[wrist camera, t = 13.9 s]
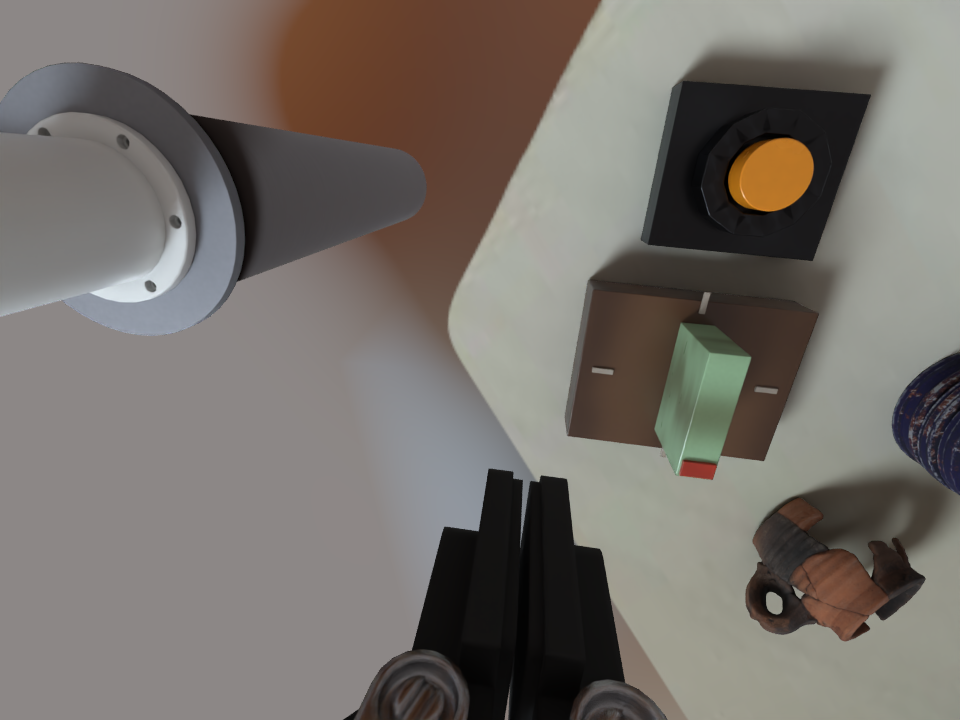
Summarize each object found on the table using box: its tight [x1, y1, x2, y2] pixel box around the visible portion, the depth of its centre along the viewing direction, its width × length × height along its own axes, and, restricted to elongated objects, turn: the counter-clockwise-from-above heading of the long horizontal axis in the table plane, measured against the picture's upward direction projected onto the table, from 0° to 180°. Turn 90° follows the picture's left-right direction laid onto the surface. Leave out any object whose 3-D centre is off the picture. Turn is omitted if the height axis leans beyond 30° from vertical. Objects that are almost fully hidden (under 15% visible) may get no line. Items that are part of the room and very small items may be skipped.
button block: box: [641, 81, 871, 261], centre depth 28 cm, size 10×9×4 cm
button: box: [728, 138, 814, 211], centre depth 25 cm, size 4×4×2 cm
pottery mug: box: [746, 498, 926, 641], centre depth 37 cm, size 12×10×8 cm
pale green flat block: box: [655, 323, 751, 480], centre depth 29 cm, size 8×2×6 cm, turn 176°
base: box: [565, 280, 819, 461], centre depth 33 cm, size 14×12×3 cm
